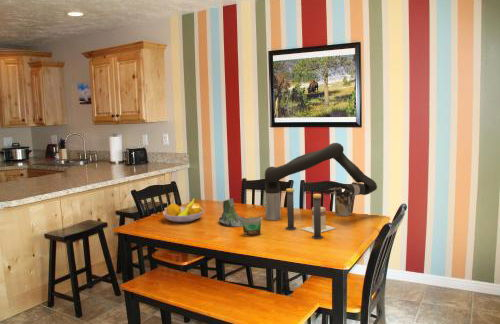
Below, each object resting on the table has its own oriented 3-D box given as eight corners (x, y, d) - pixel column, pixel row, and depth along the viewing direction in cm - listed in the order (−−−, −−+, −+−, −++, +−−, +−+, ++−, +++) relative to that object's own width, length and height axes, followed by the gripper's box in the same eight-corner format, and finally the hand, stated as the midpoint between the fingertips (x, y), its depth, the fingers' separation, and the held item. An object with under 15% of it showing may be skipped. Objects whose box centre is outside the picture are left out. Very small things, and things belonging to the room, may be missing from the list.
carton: (311, 228, 241) (311, 207, 239) (318, 226, 244) (318, 206, 242) (318, 230, 236) (318, 209, 235) (325, 228, 239) (325, 207, 238)
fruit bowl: (184, 227, 252) (183, 209, 251) (154, 221, 269) (153, 204, 267) (215, 217, 274) (214, 200, 273) (185, 212, 291) (185, 196, 289)
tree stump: (243, 229, 246) (235, 200, 245) (215, 234, 255) (207, 206, 254) (256, 220, 263) (248, 192, 261) (229, 224, 272) (222, 198, 271)
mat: (301, 229, 241) (301, 228, 240) (321, 224, 250) (321, 223, 250) (315, 234, 231) (315, 233, 231) (336, 228, 240) (336, 227, 240)
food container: (244, 237, 228) (243, 220, 227) (241, 234, 234) (240, 217, 233) (265, 235, 232) (265, 217, 230) (262, 232, 238) (261, 215, 236)
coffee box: (351, 214, 272) (351, 190, 270) (348, 216, 266) (348, 191, 264) (337, 213, 276) (337, 189, 274) (334, 215, 270) (334, 190, 268)
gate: (283, 228, 243) (282, 188, 240) (291, 226, 247) (290, 187, 244) (317, 240, 221) (316, 196, 218) (325, 237, 224) (325, 194, 221)
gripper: (341, 182, 258) (322, 184, 249) (359, 185, 246) (340, 188, 237) (341, 194, 259) (322, 197, 250) (359, 198, 247) (340, 201, 238)
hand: (331, 193), depth 243 cm, fingers open, 8 cm apart
